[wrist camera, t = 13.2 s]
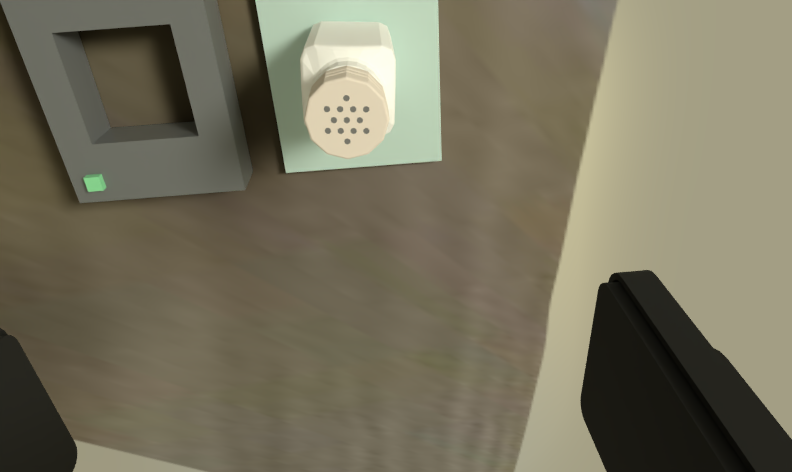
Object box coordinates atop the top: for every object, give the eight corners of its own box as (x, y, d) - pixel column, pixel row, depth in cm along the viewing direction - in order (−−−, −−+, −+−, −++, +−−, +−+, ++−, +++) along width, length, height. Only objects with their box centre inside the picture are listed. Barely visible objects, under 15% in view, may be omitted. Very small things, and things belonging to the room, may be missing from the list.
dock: (-46, -207, 23) (-95, -220, 21) (170, -222, 23) (147, -237, 21) (98, 183, 33) (76, 206, 30) (253, 171, 33) (244, 193, 30)
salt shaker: (388, 98, 30) (398, 169, 22) (314, 97, 30) (296, 169, 22) (389, 19, 28) (401, 66, 20) (310, 18, 28) (288, 65, 20)
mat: (246, -64, 27) (243, -63, 26) (434, -77, 27) (436, -77, 26) (287, 168, 33) (285, 172, 32) (440, 156, 33) (441, 160, 32)
